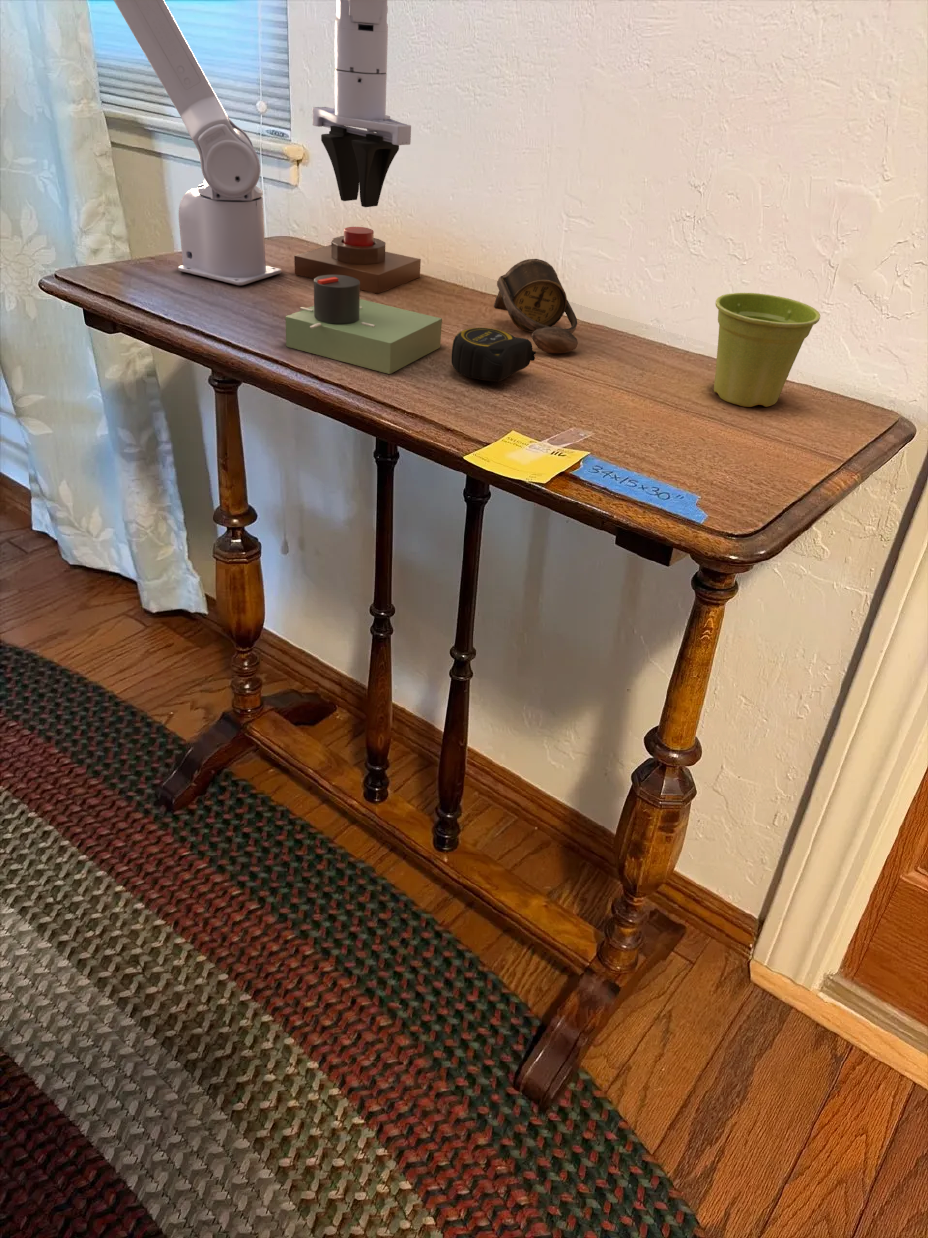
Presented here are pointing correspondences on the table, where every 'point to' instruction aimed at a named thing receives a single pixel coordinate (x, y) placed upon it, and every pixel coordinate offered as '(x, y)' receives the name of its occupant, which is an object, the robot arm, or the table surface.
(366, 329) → the dial panel
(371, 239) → the red button
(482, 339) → the tape measure
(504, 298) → the antique clock
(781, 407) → the table surface
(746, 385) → the plant pot
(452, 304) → the table surface
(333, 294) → the dial knob
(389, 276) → the button block
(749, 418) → the table surface
